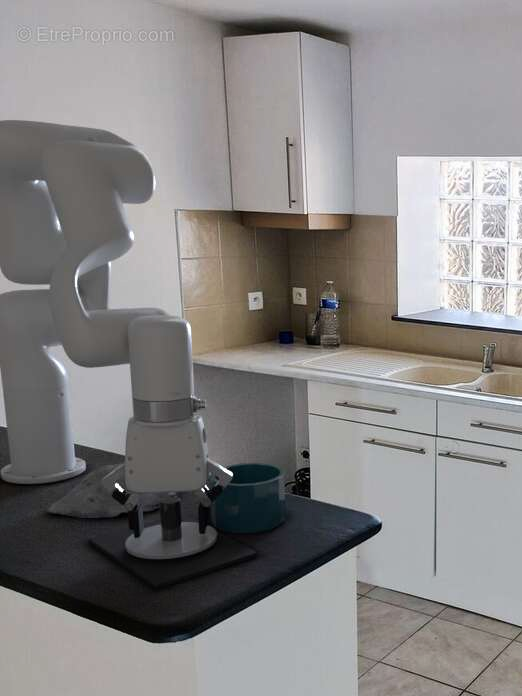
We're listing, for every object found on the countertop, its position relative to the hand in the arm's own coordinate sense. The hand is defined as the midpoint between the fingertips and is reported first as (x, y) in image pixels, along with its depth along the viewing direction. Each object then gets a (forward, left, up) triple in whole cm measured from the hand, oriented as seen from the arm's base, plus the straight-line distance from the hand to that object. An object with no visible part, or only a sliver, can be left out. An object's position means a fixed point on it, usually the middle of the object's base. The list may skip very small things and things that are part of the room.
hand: (171, 531), depth 110 cm
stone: (-21, -10, -3) cm, 23 cm away
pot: (-9, +10, -3) cm, 14 cm away
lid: (0, 0, -1) cm, 1 cm away
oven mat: (0, 0, -3) cm, 3 cm away
